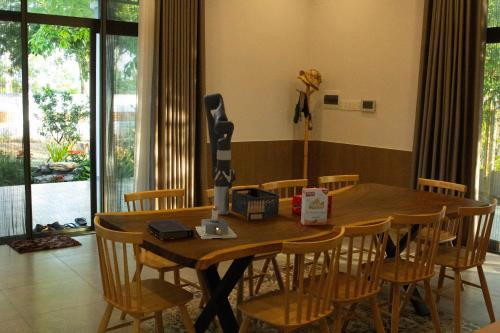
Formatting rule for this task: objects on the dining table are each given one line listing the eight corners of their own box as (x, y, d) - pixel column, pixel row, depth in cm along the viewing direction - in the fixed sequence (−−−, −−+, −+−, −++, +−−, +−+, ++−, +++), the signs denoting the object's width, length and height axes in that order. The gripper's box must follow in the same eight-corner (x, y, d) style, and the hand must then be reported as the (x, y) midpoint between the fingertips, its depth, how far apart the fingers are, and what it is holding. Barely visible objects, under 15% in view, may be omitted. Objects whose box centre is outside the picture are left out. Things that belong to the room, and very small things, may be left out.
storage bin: (280, 216, 346) (281, 194, 344) (255, 219, 335) (256, 197, 333) (253, 207, 369) (254, 187, 367) (228, 210, 358) (229, 189, 356)
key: (209, 229, 302) (210, 206, 300) (212, 228, 305) (213, 205, 304) (216, 230, 300) (217, 207, 299) (218, 229, 304) (220, 206, 302)
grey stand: (195, 228, 309) (195, 218, 308) (227, 227, 313) (227, 217, 312) (202, 239, 288) (202, 228, 287) (236, 237, 292) (236, 227, 291)
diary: (176, 227, 313) (177, 218, 313) (194, 238, 292) (194, 229, 291) (144, 230, 305) (144, 221, 304) (159, 241, 283) (160, 231, 282)
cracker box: (304, 226, 321) (305, 189, 318) (300, 223, 327) (301, 188, 324) (327, 225, 325) (328, 189, 322) (323, 222, 331) (324, 187, 328)
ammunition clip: (247, 221, 329) (248, 201, 327) (246, 220, 331) (247, 200, 329) (264, 220, 333) (265, 200, 331) (263, 219, 334) (264, 199, 333)
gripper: (209, 157, 305) (209, 187, 308) (230, 160, 297) (229, 190, 300) (217, 156, 311) (217, 184, 314) (238, 158, 303) (238, 188, 306)
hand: (223, 187), depth 307 cm, fingers open, 8 cm apart
